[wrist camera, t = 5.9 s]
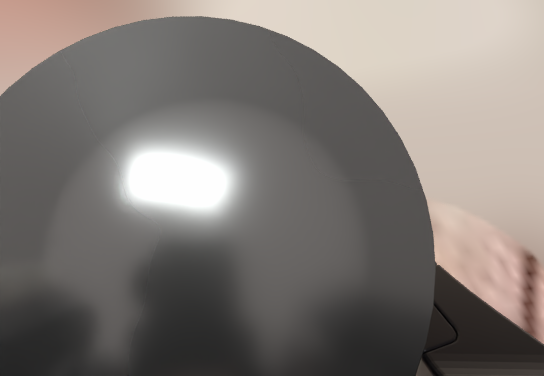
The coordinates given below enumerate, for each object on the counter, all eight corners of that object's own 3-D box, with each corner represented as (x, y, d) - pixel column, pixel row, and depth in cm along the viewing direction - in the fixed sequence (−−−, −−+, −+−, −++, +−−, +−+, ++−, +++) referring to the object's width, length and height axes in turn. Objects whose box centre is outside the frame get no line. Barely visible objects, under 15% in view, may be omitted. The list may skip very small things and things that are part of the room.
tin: (337, 279, 15) (552, 332, 3) (247, 339, 15) (49, 693, 2) (279, 192, 16) (252, -60, 4) (193, 247, 16) (-155, 173, 3)
